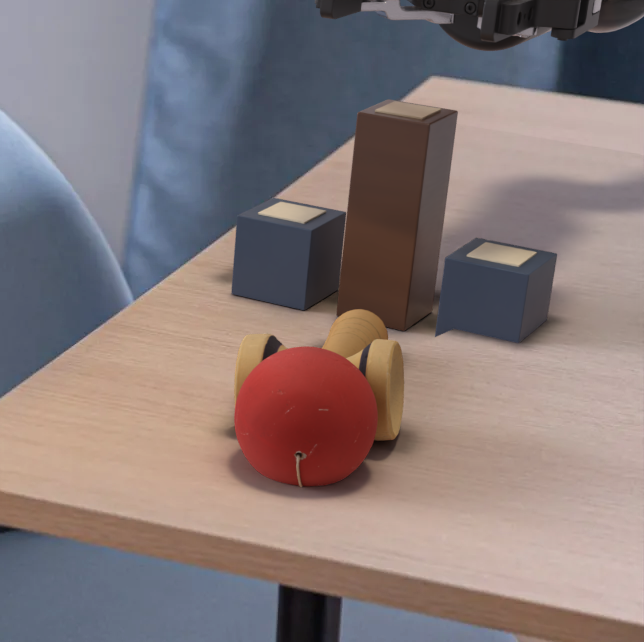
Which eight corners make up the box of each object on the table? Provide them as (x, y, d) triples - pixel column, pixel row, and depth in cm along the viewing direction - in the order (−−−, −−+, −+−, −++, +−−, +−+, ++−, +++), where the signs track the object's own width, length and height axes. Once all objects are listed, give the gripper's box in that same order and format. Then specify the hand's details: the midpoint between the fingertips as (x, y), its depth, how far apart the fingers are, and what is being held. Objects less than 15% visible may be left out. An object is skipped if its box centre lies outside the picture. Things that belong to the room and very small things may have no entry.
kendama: (261, 379, 90) (180, 470, 73) (297, 260, 87) (222, 326, 71) (407, 427, 88) (359, 531, 72) (447, 308, 86) (407, 386, 69)
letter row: (230, 294, 98) (236, 213, 96) (267, 274, 101) (273, 195, 99) (516, 358, 90) (529, 272, 88) (544, 334, 94) (558, 251, 92)
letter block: (365, 297, 98) (387, 96, 93) (432, 311, 96) (459, 108, 91) (335, 316, 95) (356, 110, 90) (404, 331, 93) (430, 122, 88)
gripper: (629, 57, 98) (533, 106, 85) (391, 23, 104) (269, 64, 92) (653, -85, 95) (557, -56, 82) (406, -111, 101) (282, -88, 88)
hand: (405, 8), depth 87 cm, fingers open, 8 cm apart
